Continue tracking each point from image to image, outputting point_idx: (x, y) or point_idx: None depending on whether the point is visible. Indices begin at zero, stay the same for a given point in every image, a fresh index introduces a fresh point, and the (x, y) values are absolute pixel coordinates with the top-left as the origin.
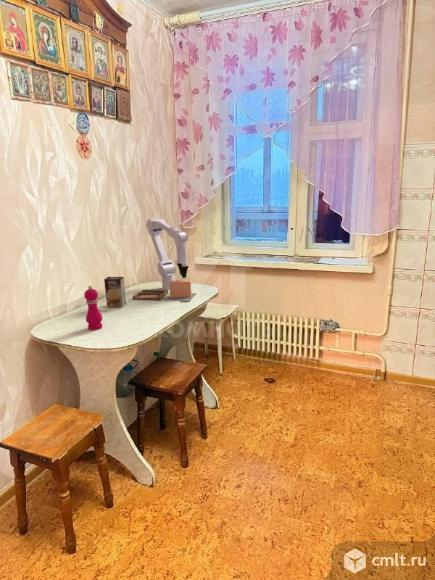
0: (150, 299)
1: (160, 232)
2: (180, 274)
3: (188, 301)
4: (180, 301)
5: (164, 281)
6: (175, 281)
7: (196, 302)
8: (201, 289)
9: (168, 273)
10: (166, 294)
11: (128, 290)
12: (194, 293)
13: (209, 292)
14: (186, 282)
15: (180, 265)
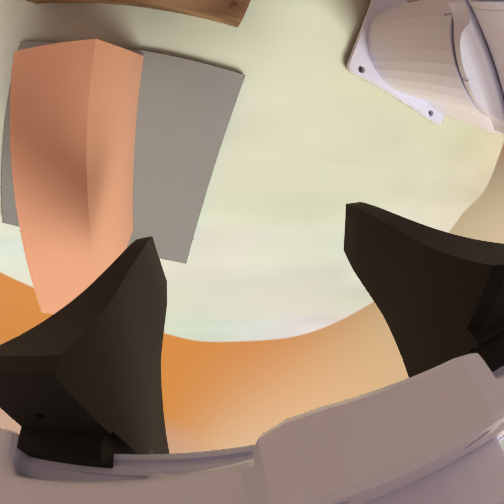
0: None
1: None
2: (350, 207)
3: (3, 218)
4: (3, 163)
5: (419, 7)
6: (33, 138)
7: (8, 261)
8: (311, 283)
9: (493, 60)
10: (186, 12)
11: None
12: (185, 248)
13: (219, 327)
14: (35, 273)
15: (444, 316)
